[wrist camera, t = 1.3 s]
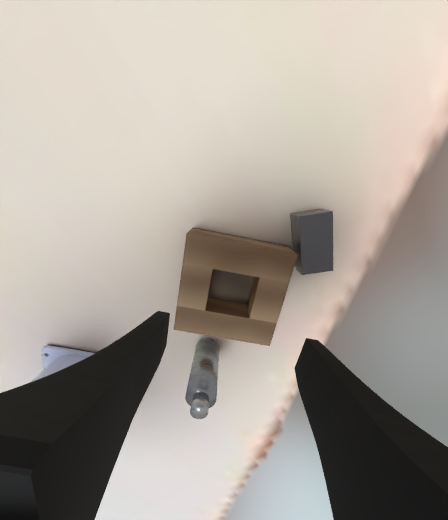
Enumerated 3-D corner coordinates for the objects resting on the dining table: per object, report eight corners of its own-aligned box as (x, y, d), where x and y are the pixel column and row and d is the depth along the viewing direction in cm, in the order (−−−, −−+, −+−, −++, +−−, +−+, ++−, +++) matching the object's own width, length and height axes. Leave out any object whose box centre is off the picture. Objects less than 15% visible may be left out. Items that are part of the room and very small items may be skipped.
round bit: (216, 359, 24) (212, 426, 17) (194, 355, 24) (180, 421, 17) (221, 340, 23) (218, 402, 16) (197, 336, 23) (184, 397, 16)
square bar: (320, 261, 20) (333, 270, 18) (293, 265, 20) (302, 274, 18) (318, 208, 19) (332, 211, 16) (289, 213, 19) (299, 216, 16)
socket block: (264, 326, 22) (269, 345, 19) (180, 311, 22) (173, 329, 19) (287, 245, 20) (297, 254, 17) (192, 227, 19) (186, 233, 16)
